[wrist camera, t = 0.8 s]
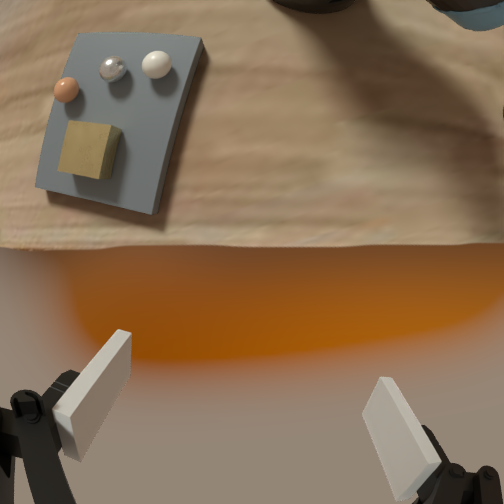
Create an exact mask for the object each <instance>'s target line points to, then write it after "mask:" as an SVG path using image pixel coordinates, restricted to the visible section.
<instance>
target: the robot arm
mask: <svg viewBox="0 0 504 504" xmlns="http://www.w3.org/2000/svg"><path fill="white" fill-rule="evenodd" d="M274 1H275V2H277V3H279V4H281V5H283V6H285V7H288V8H291V9H294V10H298V11H302V12H308V13H331V12H336V11H340V10H342V9H345V8H347V7H348V6H350V5H351V4H352V3H354V1H355V0H274ZM426 1H427V2H429V3H430V4H431V5H432V6H433V8H434V9H436V10H437V11H439V12H441V13H443V14H445V15H446V16H448V17H449V18H450V19H452V20H453V21H454V22H456V23H457V24H458V25H460V26H461V27H463V28H465V29H469V30H473V31H487V30H491V29H495V28H497V27H500V26H502V25H504V0H426ZM131 336H132V333H129V332H126V331H122V330H119V329H118V330H117V331H116V332H115V333H114V334H113V336H112V337H111V338H110V339H109V340H108V341H107V343H106V344H105V345H104V346H103V347H102V348H101V350H100V351H99V352H98V353H97V354H96V356H95V357H94V358H93V359H92V360H91V361H90V363H89V364H88V365H87V366H86V368H85V369H84V370H83V371H82V372H81V373H78V372H75V371H73V370H69V371H66V372H64V373H62V374H61V375H60V376H59V377H58V378H57V379H56V380H55V382H54V383H53V384H52V385H51V387H49V388H48V389H47V391H46V392H45V393H44V394H43V395H42V396H40V395H39V394H38V393H36V392H34V391H32V390H20V391H18V392H16V393H14V394H13V395H12V397H11V400H10V403H11V406H12V410H9V409H5V408H1V407H0V504H14V472H15V457H19V458H23V462H24V467H25V471H26V474H27V478H28V482H29V486H30V490H31V493H32V496H33V499H34V502H35V504H76V502H75V499H74V497H73V494H72V492H71V489H70V487H69V484H68V481H67V479H66V476H65V473H64V471H63V468H62V465H61V462H60V459H59V456H58V452H59V451H60V449H61V447H62V449H63V452H64V455H66V456H68V457H70V458H72V459H75V460H77V461H79V462H81V461H82V459H83V457H84V455H85V453H86V452H87V450H88V448H89V446H90V444H91V443H92V441H93V439H94V437H95V436H96V434H97V432H98V430H99V429H100V427H101V425H102V423H103V422H104V420H105V418H106V416H107V415H108V413H109V411H110V410H111V408H112V406H113V404H114V403H115V401H116V399H117V398H118V396H119V394H120V392H121V391H122V389H123V387H124V386H125V384H126V382H127V381H128V379H129V377H130V369H131V368H130V367H131V363H130V362H131ZM362 416H363V418H364V421H365V424H366V426H367V428H368V431H369V433H370V436H371V438H372V441H373V443H374V446H375V448H376V451H377V454H378V456H379V459H380V461H381V464H382V466H383V469H384V471H385V474H386V477H387V479H388V482H389V485H390V487H391V490H392V492H393V495H394V497H395V501H401V500H407V499H410V498H411V497H412V496H413V495H414V494H415V493H416V491H417V494H418V496H419V497H418V498H417V499H416V500H415V501H414V502H413V503H412V504H503V499H502V492H501V486H500V479H499V475H498V472H497V471H496V470H495V469H494V468H493V467H490V466H483V467H481V468H480V469H479V470H478V472H477V473H470V472H466V471H465V469H464V468H463V467H462V466H460V465H459V464H455V463H450V461H449V459H448V458H447V456H446V454H445V453H444V451H443V449H442V448H441V446H440V445H439V443H438V441H437V440H436V438H435V436H434V434H433V433H432V431H431V430H430V429H428V428H427V427H426V426H425V425H420V423H419V421H418V420H417V418H416V416H415V415H414V413H413V412H412V410H411V408H410V407H409V405H408V403H407V401H406V400H405V398H404V397H403V395H402V394H401V392H400V390H399V389H398V387H397V385H396V384H395V382H394V380H393V379H392V378H391V377H380V378H379V380H378V382H377V384H376V386H375V388H374V391H373V393H372V395H371V397H370V399H369V401H368V403H367V405H366V407H365V409H364V411H363V412H362Z"/></svg>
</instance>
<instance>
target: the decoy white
mask: <svg viewBox="0 0 504 504" xmlns="http://www.w3.org/2000/svg"><path fill="white" fill-rule="evenodd" d="M171 66H172V61H171V58H170V56H169V55H168V54H167V53H165V52H163V51H153V52H151V53H149V54H148V55H147V56H146V57H145V58H144V59H143V62H142V70H143V72H144V74H145V75H146V76H148V77H149V78H153V79H158V78H162V77H164V76H165V75H166V74H167V73H168V72H169V71H170V69H171Z"/></svg>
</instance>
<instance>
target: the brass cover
mask: <svg viewBox="0 0 504 504" xmlns="http://www.w3.org/2000/svg"><path fill="white" fill-rule="evenodd" d="M121 131H122V129H120V128H117V127H115V126H112V125H106V124H98V123H90V122H81V121H72V120H69V122H68V126H67V129H66V134H65V138H64V142H63V146H62V151H61V155H60V160H59V165H58V171H61V172H66V173H71V174H76V175H81V176H86V177H91V178H96V179H110V177H111V173H112V168H113V163H114V159H115V155H116V151H117V146H118V142H119V138H120V135H121Z"/></svg>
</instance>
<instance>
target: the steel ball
mask: <svg viewBox="0 0 504 504" xmlns="http://www.w3.org/2000/svg"><path fill="white" fill-rule="evenodd" d="M126 69H127V66H126V62H125V61H124V59H123V58H121V57H119V56H110V57H108V58H106V59H104V60H103V61H102V63H101V64H100V67H99V75H100V77H101V79H102V80H104V81H105V82H109V83H113V82H116V81H119V80H120V79H121V78H122V77H123V76H124V75H125V73H126Z"/></svg>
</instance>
